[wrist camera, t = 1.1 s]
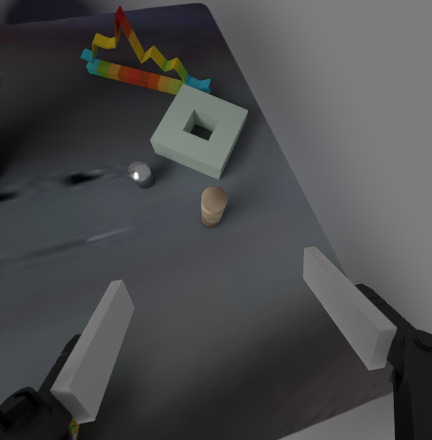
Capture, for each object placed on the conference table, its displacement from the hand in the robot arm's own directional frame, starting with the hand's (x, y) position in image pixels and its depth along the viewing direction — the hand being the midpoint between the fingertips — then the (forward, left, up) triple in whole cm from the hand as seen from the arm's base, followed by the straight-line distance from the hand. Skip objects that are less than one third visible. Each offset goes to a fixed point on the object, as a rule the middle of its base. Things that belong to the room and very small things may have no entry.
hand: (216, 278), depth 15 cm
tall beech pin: (-4, +10, -28) cm, 30 cm away
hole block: (-14, +28, -28) cm, 42 cm away
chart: (-32, +37, -29) cm, 56 cm away
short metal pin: (-21, +13, -28) cm, 37 cm away
